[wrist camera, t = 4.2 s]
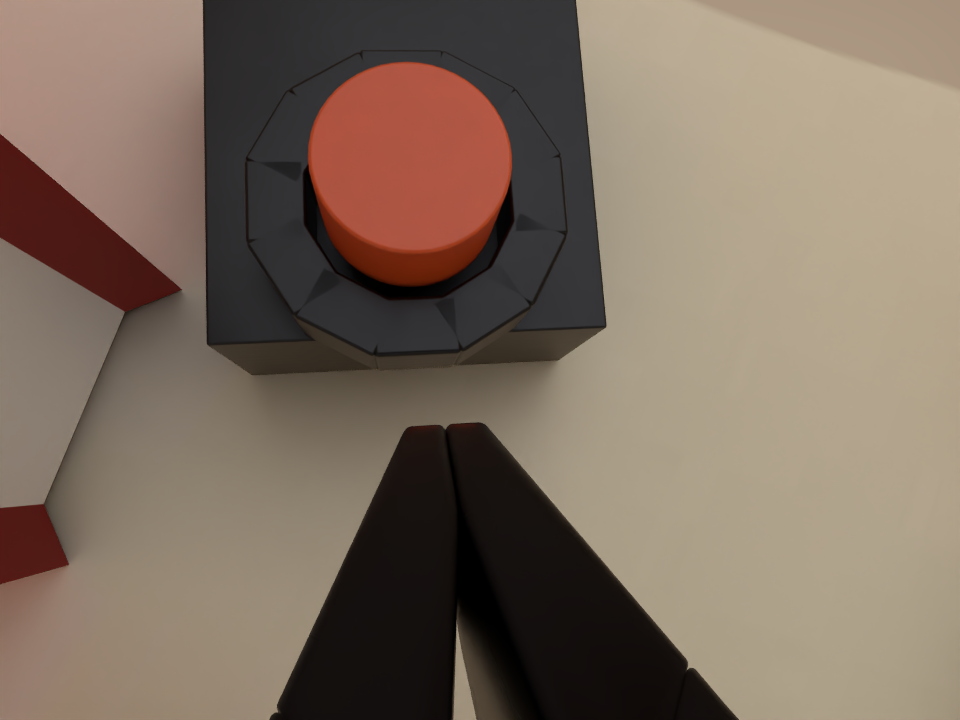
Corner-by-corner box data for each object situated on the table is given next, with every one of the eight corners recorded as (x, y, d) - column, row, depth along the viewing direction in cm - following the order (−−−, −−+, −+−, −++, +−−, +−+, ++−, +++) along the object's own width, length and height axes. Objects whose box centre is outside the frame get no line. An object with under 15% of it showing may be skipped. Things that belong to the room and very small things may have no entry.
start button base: (561, 385, 21) (639, 344, 15) (251, 401, 20) (178, 366, 14) (533, 53, 23) (592, -124, 16) (244, 51, 22) (176, -140, 15)
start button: (500, 284, 15) (519, 250, 13) (324, 290, 14) (310, 256, 12) (488, 121, 15) (505, 60, 13) (318, 123, 15) (304, 59, 13)
